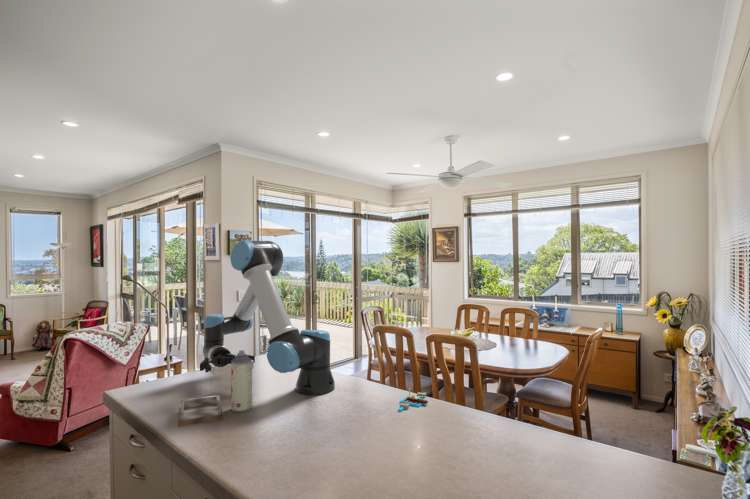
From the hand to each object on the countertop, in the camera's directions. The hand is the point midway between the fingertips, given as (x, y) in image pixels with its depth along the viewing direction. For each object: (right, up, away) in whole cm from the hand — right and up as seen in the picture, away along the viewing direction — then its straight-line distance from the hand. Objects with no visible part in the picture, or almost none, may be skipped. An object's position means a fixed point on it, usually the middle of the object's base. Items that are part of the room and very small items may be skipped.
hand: (233, 367), depth 147 cm
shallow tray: (-6, -12, -14) cm, 19 cm away
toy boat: (+66, -12, -3) cm, 67 cm away
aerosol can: (+6, -12, -8) cm, 16 cm away
